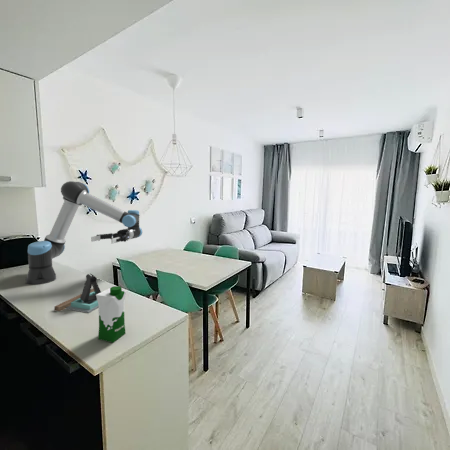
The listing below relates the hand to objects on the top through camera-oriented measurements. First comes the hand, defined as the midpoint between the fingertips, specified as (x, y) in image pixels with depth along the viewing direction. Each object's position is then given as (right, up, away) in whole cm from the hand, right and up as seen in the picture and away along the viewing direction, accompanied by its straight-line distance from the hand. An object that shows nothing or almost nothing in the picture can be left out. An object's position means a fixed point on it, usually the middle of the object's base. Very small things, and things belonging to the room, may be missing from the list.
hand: (101, 240), depth 146 cm
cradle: (+4, -31, -18) cm, 36 cm away
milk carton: (+26, -35, -46) cm, 64 cm away
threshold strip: (-4, -30, -16) cm, 34 cm away
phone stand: (+4, -28, -18) cm, 34 cm away
